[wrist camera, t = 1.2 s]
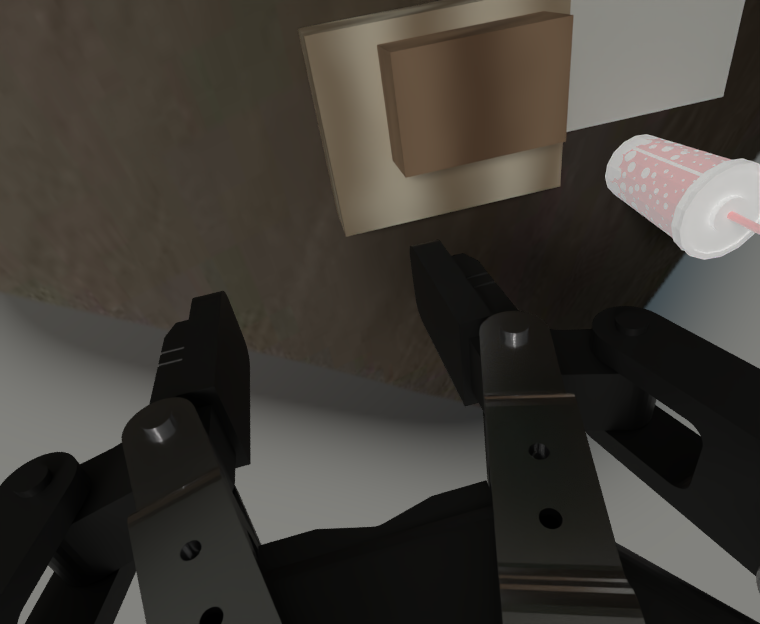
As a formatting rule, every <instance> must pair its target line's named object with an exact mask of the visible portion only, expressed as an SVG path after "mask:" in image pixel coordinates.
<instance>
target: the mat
mask: <svg viewBox="0 0 760 624" xmlns="http://www.w3.org/2000/svg"><path fill="white" fill-rule="evenodd" d="M744 3H745V0H571V7H570V15H574V17H573V34H572V50H571V66H570V82H569V98H568V114H567V131H566V132H569V131H573V130H578V129H582V128H586V127H591V126H595V125H600V124H604V123H609V122H613V121H617V120H622V119H626V118H631V117H635V116H640V115H644V114H648V113H653V112H657V111H662V110H666V109H671V108H675V107H679V106H684V105H688V104H693V103H697V102H702V101H706V100H710V99H715V98H719V97H723V95H724V90H725V86H726V81H727V77H728V73H729V68H730V64H731V60H732V55H733V51H734V46H735V42H736V38H737V33H738V29H739V25H740V20H741V16H742V11H743V7H744Z"/></svg>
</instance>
